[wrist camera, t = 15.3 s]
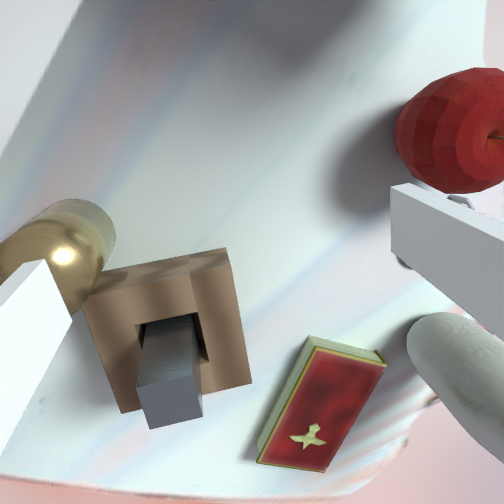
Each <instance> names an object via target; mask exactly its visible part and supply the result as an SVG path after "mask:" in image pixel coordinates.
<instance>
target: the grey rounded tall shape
mask: <svg viewBox="0 0 504 504" xmlns="http://www.w3.org/2000/svg"><path fill="white" fill-rule="evenodd" d="M407 352H408V355H409V357H410V359H411V361H412V364H413V365H414V367H415V369H416V371H417V372H418V373H419V375H420V376H421V377H422V378H423V380H424V381H425V382H426V383H427V384H428V385H429V387H430V388H431V389H432V390H433V391H434V392H435V394H436V395H437V396H438V397H439V398H440V399H441V401H442V402H443V403H444V405H445V406H446V407H447V408H448V410H449V411H450V412H451V413H452V415H453V416H454V417H455V418H456V419H457V421H458V422H459V423H460V424H461V426H462V427H463V428H464V429H465V430H466V431H467V432H468V433H469V434H470V435H471V436H472V437H473V438H474V439H475V440H476V441H477V442H478V443H479V444H480V445H481V446H482V447H484V448H485V449H486V450H487V451H489V452H490V453H491V454H492V455H494V456H495V457H496V458H498V459H499V460H500V461H501V462H502V463H504V343H502V342H501V341H499V340H498V339H497V338H495V337H494V336H493V335H491V334H490V333H489V332H487V331H486V330H485V329H483V328H482V327H480V326H479V325H478V324H476V323H474V322H473V321H471V320H469V319H467V318H465V317H463V316H460V315H457V314H453V313H446V312H439V313H433V314H429V315H427V316H425V317H423V318H421V319H419V320H418V321H416V322H415V323H414V324H413V325H412V327H411V328H410V330H409V332H408V334H407Z"/></svg>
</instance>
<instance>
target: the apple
mask: <svg viewBox="0 0 504 504" xmlns="http://www.w3.org/2000/svg"><path fill="white" fill-rule="evenodd" d="M394 138H395V145H396V151H397V152H398V154H399V155H400V157H401V158H402V160H403V161H404V163H405V164H406V166H407V167H408V169H409V170H410V172H411V173H412V175H413V176H414V177H416V178H417V179H419V180H421V181H422V182H424V183H426V184H427V185H429V186H431V187H433V188H435V189H437V190H439V191H441V192H443V193H445V194H468V193H475V192H481V191H483V190H486V189H488V188H490V187H493V186H495V185H497V184H500V183H501V182H502V181H503V180H504V71H502V70H500V69H498V68H476V67H475V68H471V69H467V70H464V71H460V72H457V73H453V74H450V75H448V76H445V77H443V78H441V79H438V80H436V81H434V82H431V83H430V84H429V85H428V86H426V87H425V88H424V89H422V90H421V91H420V92H419V93H417V94H416V95H415V96H414V97H413V98H412V99H411V100H409V101H408V102H407V103H406V104H405V105H404V107H403V109H402V111H401V112H400V114H399V116H398V118H397V119H396V126H395V134H394Z"/></svg>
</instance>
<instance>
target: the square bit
mask: <svg viewBox="0 0 504 504" xmlns="http://www.w3.org/2000/svg"><path fill="white" fill-rule="evenodd" d="M136 390H137V393H138V396H139V399H140V402H141V405H142V408H143V411H144V414H145V417H146V420H147V423H148V426H149V429H154V428H158V427H163V426H167V425H171V424H175V423H179V422H183V421H188V420H192V419H196V418H200V417H203V406H202V389H201V372H200V355H199V337H198V330H197V326H196V322H195V317H194V313H189V314H185V315H180V316H175V317H170V318H166V319H161V320H156V321H151V322H147V326H146V332H145V337H144V343H143V349H142V355H141V360H140V366H139V372H138V378H137V383H136Z"/></svg>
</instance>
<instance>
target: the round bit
mask: <svg viewBox="0 0 504 504" xmlns="http://www.w3.org/2000/svg"><path fill="white" fill-rule="evenodd" d="M114 243H115V229H114V226H113V223H112V221H111V219H110V218H109V216H108V215H107V214H106V213H105V212H104V211H103V210H102V209H101V208H99V207H98V206H96V205H95V204H93V203H91V202H88V201H85V200H80V199H66V200H62V201H59V202H57V203H55V204H53V205H52V206H50V207H49V208H48V209H46V210H45V211H44V212H42V213H41V214H40V215H38V216H37V217H36V218H34V219H33V220H32V221H30V222H29V223H28V224H26V225H25V226H24V227H22V228H21V229H20V230H18V231H17V232H16V233H14V234H13V235H12V236H10V237H9V238H8V239H6V240H5V241H4V242H2V243H1V244H0V286H1V285H2V284H3V283H4V282H5V281H6V280H7V279H8V278H9V277H10V276H11V275H12V274H13V273H14V272H15V271H16V270H17V269H18V268H19V267H20V266H21V265H22V264H23V263H27V262H31V261H36V260H41V259H45V261H46V263H47V265H48V267H49V270H50V272H51V274H52V276H53V279H54V281H55V283H56V285H57V288H58V290H59V292H60V294H61V297H62V299H63V301H64V303H65V306H66V308H67V310H68V312H69V315H72V314H74V313H75V312H77V311H78V310H79V309H80V308H81V307H82V306H83V305H84V303H85V302H86V300H87V298H88V296H89V295H90V293H91V291H92V289H93V287H94V285H95V283H96V281H97V279H98V277H99V275H100V273H101V271H102V269H103V267H104V265H105V263H106V261H107V259H108V257H109V255H110V253H111V251H112V249H113V247H114Z"/></svg>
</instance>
